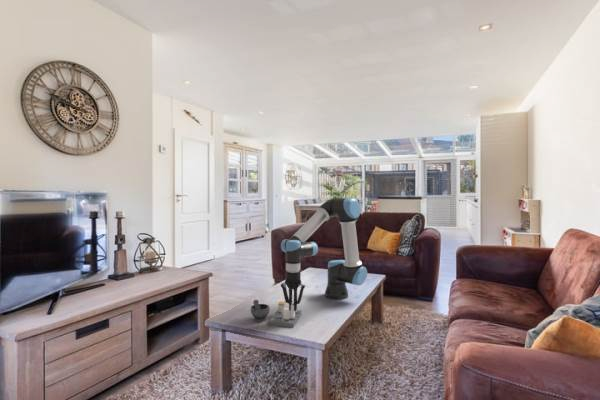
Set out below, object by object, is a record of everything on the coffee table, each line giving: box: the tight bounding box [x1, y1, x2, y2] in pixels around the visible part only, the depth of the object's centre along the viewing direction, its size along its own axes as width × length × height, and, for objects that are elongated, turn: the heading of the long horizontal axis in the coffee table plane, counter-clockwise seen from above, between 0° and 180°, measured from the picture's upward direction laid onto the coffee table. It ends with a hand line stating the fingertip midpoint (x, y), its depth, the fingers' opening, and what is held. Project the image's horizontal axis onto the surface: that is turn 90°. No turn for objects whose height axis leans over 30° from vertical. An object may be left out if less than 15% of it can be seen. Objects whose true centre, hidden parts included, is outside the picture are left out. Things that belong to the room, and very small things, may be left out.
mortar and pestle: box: [250, 299, 270, 323], centre depth 166 cm, size 11×9×12 cm
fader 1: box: [277, 301, 286, 312], centre depth 173 cm, size 3×3×5 cm
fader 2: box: [283, 307, 290, 320], centre depth 163 cm, size 3×3×5 cm
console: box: [268, 309, 302, 328], centre depth 168 cm, size 13×18×2 cm
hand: (292, 316), depth 163 cm, fingers closed
